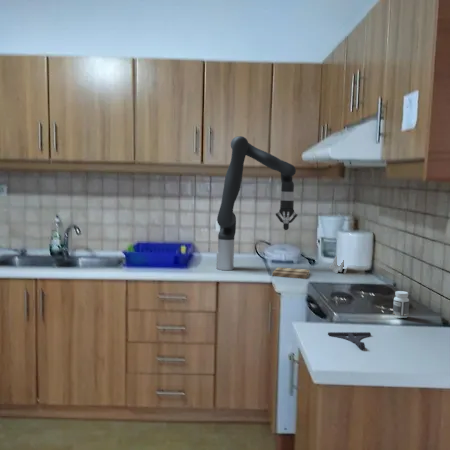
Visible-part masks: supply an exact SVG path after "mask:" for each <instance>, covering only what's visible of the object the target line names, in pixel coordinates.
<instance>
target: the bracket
mask: <svg viewBox="0 0 450 450" xmlns="http://www.w3.org/2000/svg"><path fill="white" fill-rule="evenodd" d="M327 335H328V336H329V337H332V338H339V339H343V340H346V341H349V342H351V343H354V345H356V347H357V348H358V349H359V350H360V351H365V350H366V345H365V342H363V341H360V340H362V339H366V338H370V337H371V336H372V334H371V332H370V331H367V332H366V331H365V332H363V331H360V332H357V331H355V332H354V331H353V332H351V331H350V332H347V331H346V332H343V331H342V332H339V331H337V332H335V331H334V332H333V331H332V332H329V331H328V332H327Z"/></svg>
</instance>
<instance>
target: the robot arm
mask: <svg viewBox="0 0 450 450" xmlns="http://www.w3.org/2000/svg"><path fill="white" fill-rule="evenodd" d="M230 148H231V157H230V162H229V164H228V168H227V171H226V174H225V178H224V182H223V188H222V189H223V191H222V196H221V197H222V198H221V203H220V207H219V210H218V214H217V217H216V218H217V219H216V221H217V225H218V226H219V227H220V228H219V232H218V234H217V251H216V263H215V265H216V266H215V267H216V269H217V270H219V271H232V270H234V267H235V266H234V264H235V260H234V259H235V257H234V256H235V235H236V229H237V217H236V215H235V212H234V207H235V203H236V200H237V199H238V195H239V193H240V190H241V185H242V180H243V172H244V163H245V159H246V157H249V158H251V159H253V160H255V161H256V162H259V163H260V164H262V165H264V166H266V167H267V168H269V169H271V170H274V171H275V172H279V174H280V180H281V185H280V188H281V189H280V191H281V192H280V202H279V203H280V206H279V211H278V212H276V213H275V216H276V217H277V219H278V220H279V221H280V223H282V224H283V227H282V228H283V229H284V231H288V230H289V228H290V224H291V223H293V221H294V220H295V219H296V218H297V217H298V213H296V212H295V209H294V208H295V207H294V205H295V204H294V201H295V192H294V191H295V185H294V181H293V176H295V174H296V172H297V169H296V167H295V166H294V165H293V164H291V163H289V162H287V161H285V160H282V159H280V158H278V157H277V156H275V155H273V154H271V153H270V152H267V151H264V150H261V149H260V148H257V147H255V146H254V145H252V144H251V143H250V142H249V141H248V139H247V138H246V137H244V136H235V137H234V138H232V139H231V141H230ZM291 217H292V218H291Z"/></svg>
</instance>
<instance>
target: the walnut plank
mask: <svg viewBox="0 0 450 450" xmlns="http://www.w3.org/2000/svg"><path fill="white" fill-rule="evenodd" d="M271 274H272V277H278V278H279V277H280V278H290V279H291V278H293V279H301V280H302V279H304V280H306V279H307V278H308V276H309V275H308V272H297V271H284V270H276V269H274V271H273V272H272V273H271Z"/></svg>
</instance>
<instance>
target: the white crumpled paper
mask: <svg viewBox="0 0 450 450" xmlns="http://www.w3.org/2000/svg"><path fill="white" fill-rule="evenodd" d="M343 267H344V260H343V262H342V263H341V265H340V266H338V265H337V255H335V256H334V259H333V260H332V263H331V264H329V267H328V269H330V271H332V272H334V273H335V274H338V273H339V272H340V273H343V274H346V273H347V270H348V268H347V269H343Z"/></svg>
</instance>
